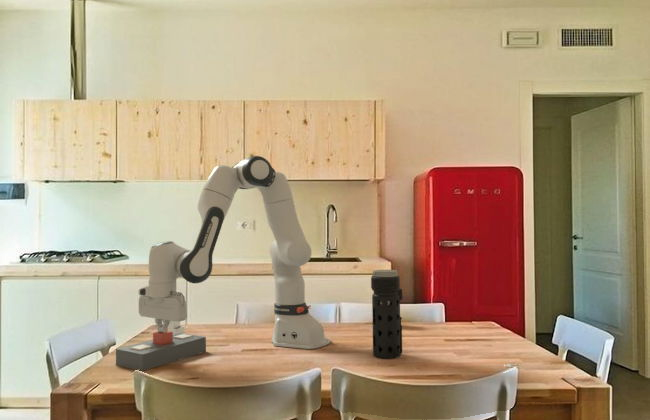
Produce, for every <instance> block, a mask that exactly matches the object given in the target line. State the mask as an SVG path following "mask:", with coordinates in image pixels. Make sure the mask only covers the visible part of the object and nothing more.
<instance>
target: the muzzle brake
mask: <svg viewBox="0 0 650 420" xmlns="http://www.w3.org/2000/svg"><path fill="white" fill-rule="evenodd" d="M398 272H399V271H398V270H396V269H375V270H373V271H372V275H371V278H370V289H371V291H372V292H373V293H372V295H371V299H372V300H371V302H372V303H371V308H372V310H371V311H372V356H373V357H374V358H377V359H381V360H392V359H393V360H394V359H396V358H397V359H398V358H400V356H401V355H402V353H403V326H402V319H403V318H402V317H401V301H402V300H403V289H402V288H401V286H400V285H401V284H400V281H401V278H400V275H398V274H399V273H398Z"/></svg>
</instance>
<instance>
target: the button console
mask: <svg viewBox="0 0 650 420" xmlns="http://www.w3.org/2000/svg"><path fill="white" fill-rule="evenodd" d="M182 334H184V333H178V334H174V335H173V337H174V336H178V335H182ZM185 334H186V335H192V337H191V338H188V339H184V340H180V339H174V338H173V343H169V344H165V345H157V344H153V339H150V340H146V341H142V342H139V343H134V344H130V345H126V346H122V347H118V348H115V365H116V366H119V367H122V368H123V367H124V368H128V369H132V370H136V369H140V370H142V371H141V372H143V371H147V370H150V369H154V368H157V367H160V366H165V365H167V364H170V363H174V362H177V361H179V360H183V359H186V358H189V357H192V356H196V355H198V354H202V353H205V352H206V351H207V337H206V336H204V335H203V336H202V335H197V334H189V333H185ZM142 344H143V345H148V346H152V348H150V349H146V350H143V351H136V350H131V347H134V346H138V345H142ZM140 370H139V371H140Z"/></svg>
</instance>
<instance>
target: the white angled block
mask: <svg viewBox="0 0 650 420" xmlns="http://www.w3.org/2000/svg"><path fill="white" fill-rule="evenodd" d="M185 327H186V326H185V325H181V321H179V322H177V321H170V323H169V326H168V331H171V332H173V335H174V334H178V333H184V334H186V332H185Z"/></svg>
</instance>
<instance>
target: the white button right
mask: <svg viewBox="0 0 650 420" xmlns="http://www.w3.org/2000/svg"><path fill="white" fill-rule="evenodd" d="M186 334H187V333H185V334H182V335H178V336H174V337H173V338H174V339H180V340H184V339H188V338H191V337H192V335H193V334H190V335H186Z"/></svg>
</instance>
